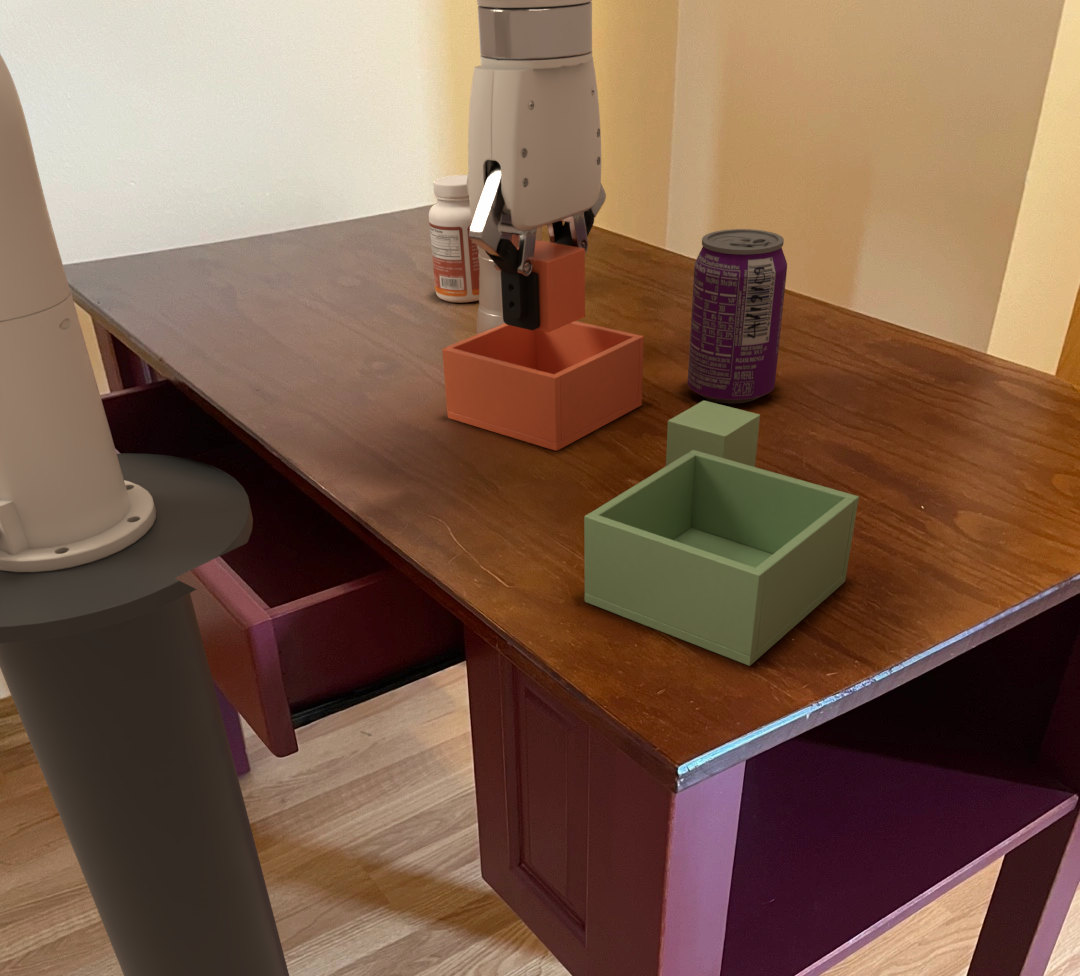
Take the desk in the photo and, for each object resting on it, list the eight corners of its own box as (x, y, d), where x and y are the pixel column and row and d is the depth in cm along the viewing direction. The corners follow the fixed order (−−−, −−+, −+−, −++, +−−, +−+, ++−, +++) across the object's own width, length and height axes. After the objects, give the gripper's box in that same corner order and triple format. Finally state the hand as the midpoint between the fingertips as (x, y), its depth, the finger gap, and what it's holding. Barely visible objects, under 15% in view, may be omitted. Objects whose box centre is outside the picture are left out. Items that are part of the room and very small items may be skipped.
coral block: (548, 332, 81) (547, 262, 78) (503, 322, 83) (499, 253, 80) (585, 316, 83) (585, 248, 80) (540, 307, 86) (538, 239, 83)
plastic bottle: (527, 376, 94) (518, 115, 82) (463, 364, 97) (445, 110, 85) (565, 354, 98) (561, 103, 86) (502, 343, 101) (490, 98, 89)
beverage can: (783, 383, 91) (800, 231, 84) (760, 414, 86) (776, 254, 79) (702, 373, 94) (712, 224, 86) (675, 402, 88) (683, 246, 81)
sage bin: (749, 666, 58) (759, 575, 55) (584, 602, 64) (583, 516, 61) (845, 581, 65) (859, 496, 62) (688, 530, 71) (692, 449, 67)
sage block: (719, 506, 73) (725, 436, 70) (664, 489, 76) (667, 420, 73) (753, 482, 76) (760, 414, 73) (699, 467, 78) (703, 400, 75)
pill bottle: (487, 284, 117) (481, 170, 110) (500, 300, 112) (494, 182, 105) (430, 290, 115) (420, 175, 109) (441, 306, 111) (431, 188, 104)
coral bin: (556, 451, 81) (555, 378, 78) (447, 418, 87) (441, 348, 84) (642, 405, 88) (644, 335, 85) (535, 377, 94) (533, 311, 91)
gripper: (569, 22, 79) (572, 282, 90) (406, 49, 69) (432, 338, 80) (654, 26, 75) (647, 297, 86) (494, 55, 65) (509, 358, 76)
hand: (543, 314), depth 83 cm, fingers closed on coral block, 4 cm apart
